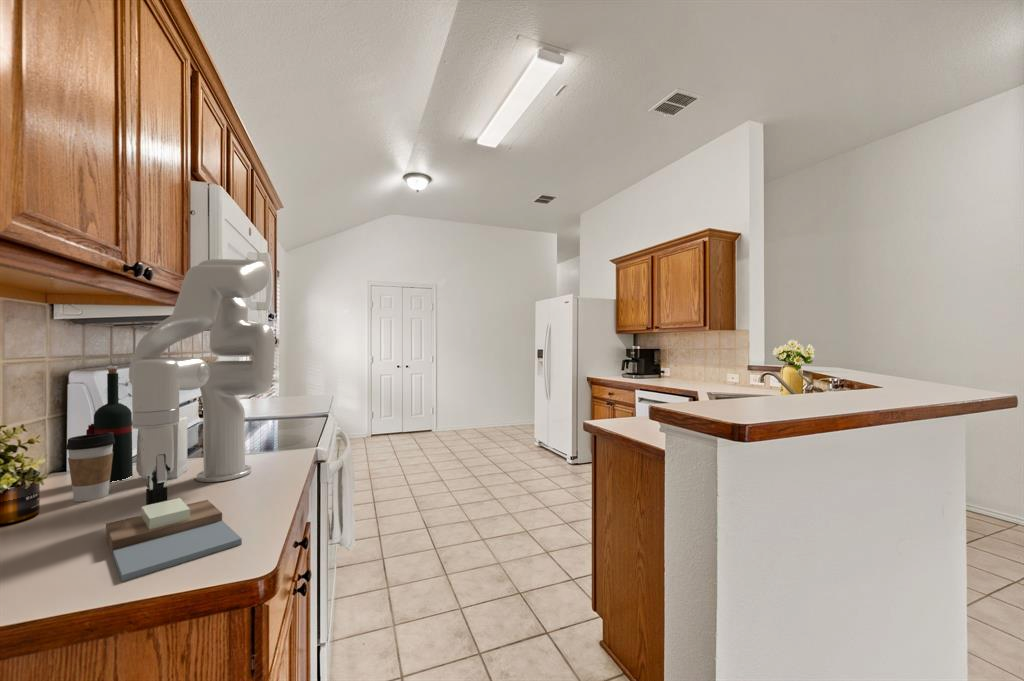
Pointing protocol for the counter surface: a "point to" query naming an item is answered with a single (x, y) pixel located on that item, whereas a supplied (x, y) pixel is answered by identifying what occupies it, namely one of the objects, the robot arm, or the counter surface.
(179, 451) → the skincare box
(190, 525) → the walnut deck
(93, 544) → the counter surface
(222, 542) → the slate mat
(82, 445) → the coffee cup
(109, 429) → the wine bottle
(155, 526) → the sage tile
